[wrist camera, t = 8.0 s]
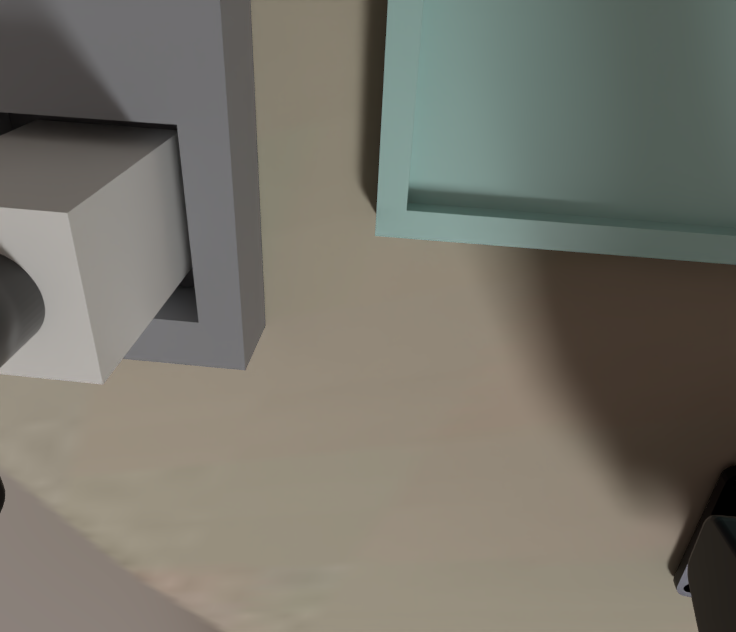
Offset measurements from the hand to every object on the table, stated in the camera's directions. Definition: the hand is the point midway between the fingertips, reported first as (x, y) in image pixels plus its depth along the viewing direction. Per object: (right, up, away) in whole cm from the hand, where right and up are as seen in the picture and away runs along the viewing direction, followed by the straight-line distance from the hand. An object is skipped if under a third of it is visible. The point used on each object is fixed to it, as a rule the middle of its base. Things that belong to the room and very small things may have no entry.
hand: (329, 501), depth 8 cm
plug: (-7, +6, +10) cm, 13 cm away
